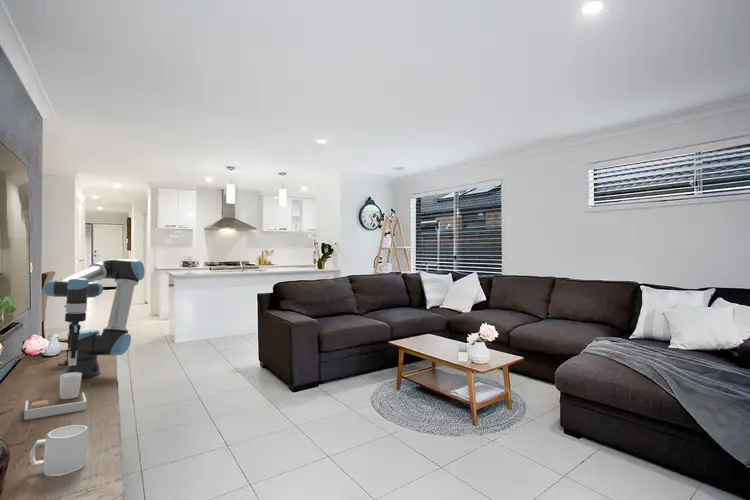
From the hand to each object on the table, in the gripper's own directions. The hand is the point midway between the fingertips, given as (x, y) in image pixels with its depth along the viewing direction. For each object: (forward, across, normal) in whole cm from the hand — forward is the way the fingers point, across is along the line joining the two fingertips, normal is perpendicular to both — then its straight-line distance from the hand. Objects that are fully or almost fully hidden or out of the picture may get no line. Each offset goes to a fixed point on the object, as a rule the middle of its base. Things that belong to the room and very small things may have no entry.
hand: (71, 363), depth 176 cm
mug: (+15, +72, -5) cm, 74 cm away
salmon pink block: (+15, +15, -10) cm, 24 cm away
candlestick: (+15, -67, +2) cm, 69 cm away
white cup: (+15, 0, 0) cm, 15 cm away
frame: (+15, +15, -5) cm, 22 cm away
